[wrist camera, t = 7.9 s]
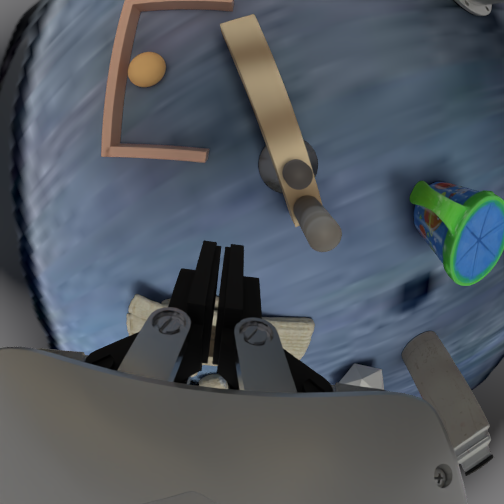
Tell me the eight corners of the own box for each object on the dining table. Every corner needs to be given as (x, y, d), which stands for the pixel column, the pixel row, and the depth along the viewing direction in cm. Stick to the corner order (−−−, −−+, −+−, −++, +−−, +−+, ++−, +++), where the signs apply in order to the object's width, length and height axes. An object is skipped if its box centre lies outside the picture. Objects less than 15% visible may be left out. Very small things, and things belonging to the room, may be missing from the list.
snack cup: (476, 209, 30) (522, 240, 21) (437, 264, 34) (477, 306, 25) (420, 138, 25) (480, 156, 16) (373, 208, 29) (420, 249, 20)
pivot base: (263, 130, 25) (264, 131, 25) (322, 142, 26) (323, 142, 25) (254, 188, 28) (254, 189, 27) (310, 197, 28) (311, 198, 28)
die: (360, 383, 47) (398, 397, 38) (329, 408, 43) (366, 428, 35) (354, 350, 46) (395, 362, 37) (320, 376, 42) (361, 395, 34)
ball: (128, 54, 19) (133, 47, 17) (163, 56, 21) (173, 50, 19) (123, 88, 21) (127, 85, 18) (158, 88, 23) (166, 86, 20)
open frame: (133, 5, 17) (125, -3, 15) (234, 3, 18) (233, -6, 16) (111, 152, 25) (101, 156, 23) (208, 158, 26) (205, 162, 24)
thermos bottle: (412, 364, 45) (463, 478, 20) (394, 354, 42) (451, 486, 18) (441, 338, 42) (503, 450, 18) (427, 325, 40) (499, 454, 15)
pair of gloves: (135, 269, 32) (121, 294, 28) (321, 316, 37) (331, 343, 32) (128, 391, 45) (122, 412, 41) (251, 417, 50) (252, 438, 45)
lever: (221, 33, 19) (214, -3, 11) (252, 24, 19) (259, -14, 11) (290, 215, 28) (310, 258, 21) (317, 206, 28) (347, 245, 20)
